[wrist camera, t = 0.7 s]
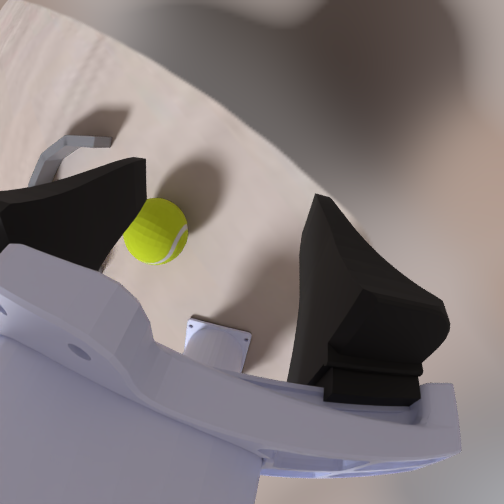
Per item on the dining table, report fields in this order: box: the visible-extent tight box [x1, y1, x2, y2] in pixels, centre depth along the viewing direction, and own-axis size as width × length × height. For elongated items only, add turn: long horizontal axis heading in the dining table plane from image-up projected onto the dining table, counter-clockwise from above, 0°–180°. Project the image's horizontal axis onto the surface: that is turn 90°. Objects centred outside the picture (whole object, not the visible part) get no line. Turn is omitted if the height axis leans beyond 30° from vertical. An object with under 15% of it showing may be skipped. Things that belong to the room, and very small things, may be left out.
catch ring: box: [28, 135, 112, 273], centre depth 29 cm, size 17×11×4 cm, turn 168°
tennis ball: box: [123, 198, 188, 265], centre depth 27 cm, size 7×7×7 cm
